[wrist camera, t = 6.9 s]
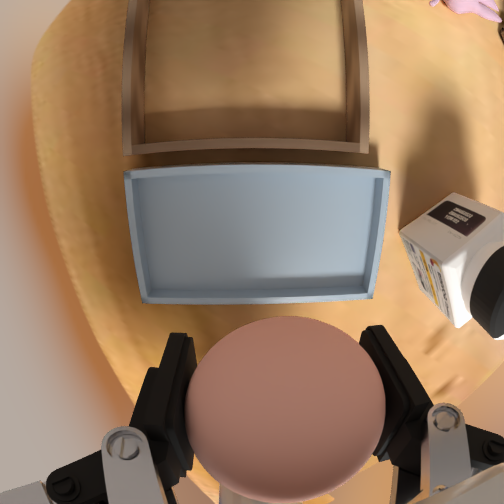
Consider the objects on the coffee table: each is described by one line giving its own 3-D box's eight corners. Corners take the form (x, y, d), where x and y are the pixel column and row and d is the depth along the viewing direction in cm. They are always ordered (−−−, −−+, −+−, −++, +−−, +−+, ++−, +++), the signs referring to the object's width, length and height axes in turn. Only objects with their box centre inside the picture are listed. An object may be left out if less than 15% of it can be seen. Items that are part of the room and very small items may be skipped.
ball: (338, 393, 12) (372, 506, 6) (205, 399, 12) (193, 521, 6) (365, 277, 10) (458, 407, 4) (188, 281, 9) (136, 440, 4)
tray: (363, 287, 26) (372, 298, 24) (149, 290, 26) (142, 303, 24) (378, 167, 22) (390, 171, 20) (133, 168, 21) (123, 171, 19)
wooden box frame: (353, 151, 21) (368, 153, 19) (137, 153, 21) (123, 156, 18) (343, -32, 15) (354, -47, 12) (147, -31, 14) (137, -46, 11)
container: (396, 230, 24) (488, 302, 12) (452, 190, 23) (552, 234, 11) (418, 289, 27) (489, 369, 15) (468, 250, 25) (547, 309, 13)
